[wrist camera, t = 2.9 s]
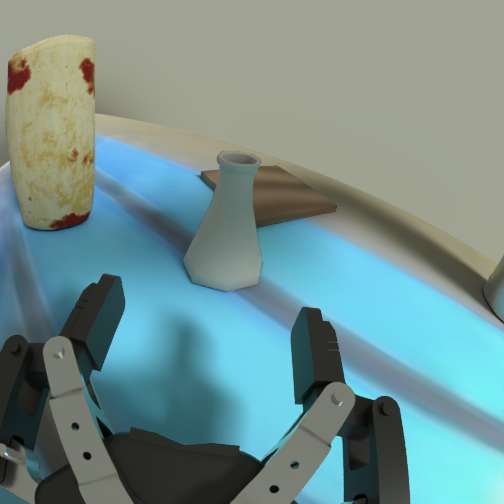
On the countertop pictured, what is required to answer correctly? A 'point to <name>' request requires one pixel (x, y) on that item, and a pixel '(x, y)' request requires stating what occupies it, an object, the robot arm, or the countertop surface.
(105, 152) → the countertop surface
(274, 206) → the walnut board
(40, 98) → the food model
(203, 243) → the flask
